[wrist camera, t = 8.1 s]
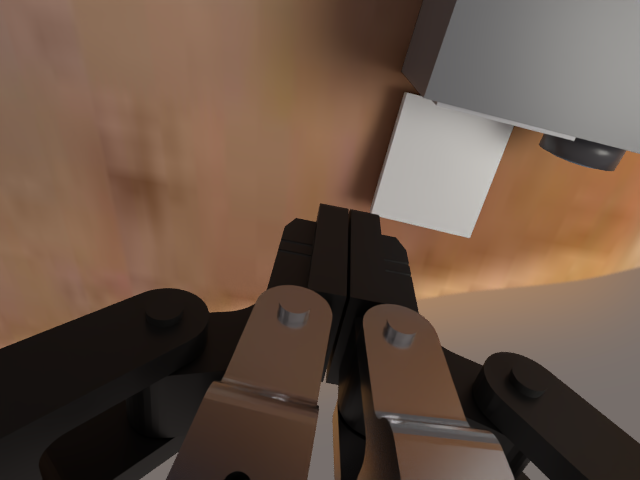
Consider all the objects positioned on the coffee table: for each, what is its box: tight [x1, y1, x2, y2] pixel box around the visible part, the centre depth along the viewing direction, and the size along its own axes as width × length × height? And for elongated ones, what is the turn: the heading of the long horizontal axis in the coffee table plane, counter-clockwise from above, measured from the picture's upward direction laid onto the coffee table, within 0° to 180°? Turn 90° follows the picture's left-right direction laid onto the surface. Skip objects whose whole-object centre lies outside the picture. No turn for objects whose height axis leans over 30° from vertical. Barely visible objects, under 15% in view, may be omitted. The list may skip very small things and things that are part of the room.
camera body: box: [402, 0, 640, 171], centre depth 21 cm, size 12×12×10 cm
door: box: [370, 92, 514, 238], centre depth 28 cm, size 1×7×8 cm
